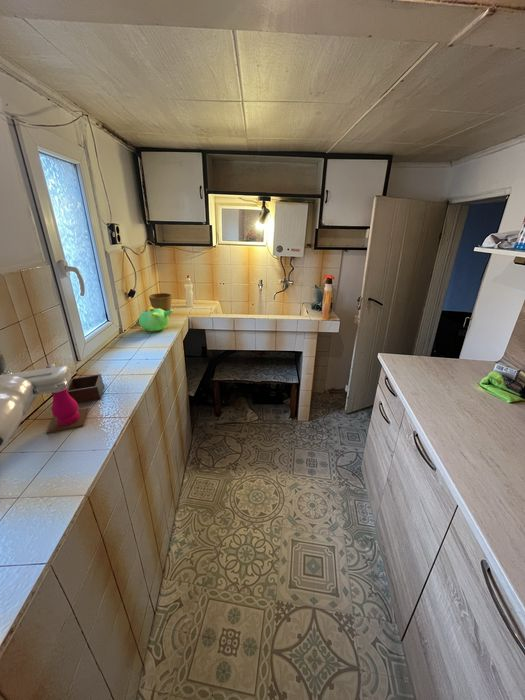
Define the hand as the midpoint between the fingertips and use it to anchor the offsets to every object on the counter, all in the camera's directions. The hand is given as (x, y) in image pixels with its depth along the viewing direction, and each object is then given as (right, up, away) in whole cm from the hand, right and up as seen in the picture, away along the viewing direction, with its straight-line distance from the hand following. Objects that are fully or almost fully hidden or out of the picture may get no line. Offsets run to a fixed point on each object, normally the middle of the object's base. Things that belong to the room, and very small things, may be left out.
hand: (30, 369), depth 74 cm
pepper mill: (-4, -19, +21) cm, 28 cm away
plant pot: (-9, +28, +125) cm, 128 cm away
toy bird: (-5, +17, +102) cm, 103 cm away
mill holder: (-7, -12, +35) cm, 38 cm away
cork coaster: (-4, -19, +21) cm, 29 cm away
